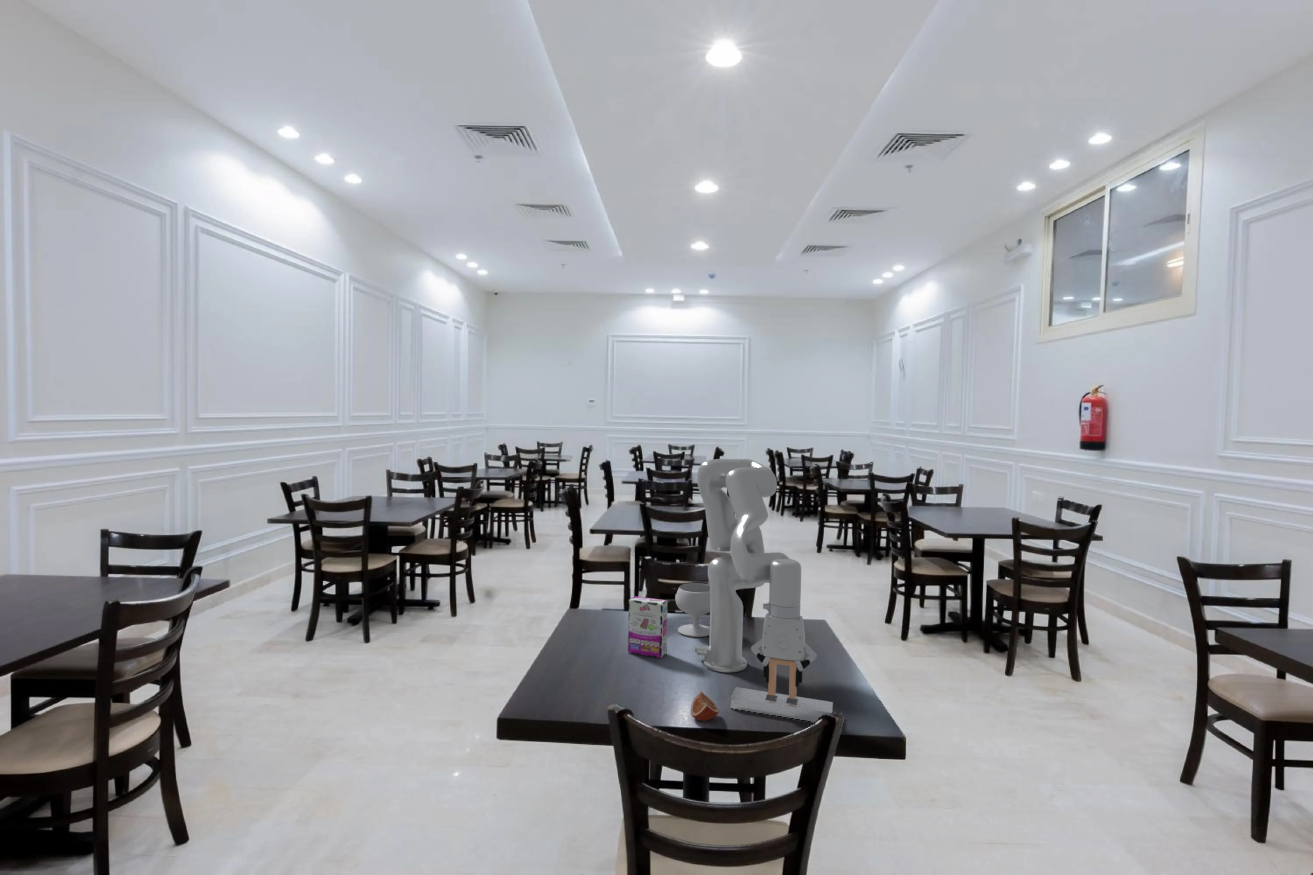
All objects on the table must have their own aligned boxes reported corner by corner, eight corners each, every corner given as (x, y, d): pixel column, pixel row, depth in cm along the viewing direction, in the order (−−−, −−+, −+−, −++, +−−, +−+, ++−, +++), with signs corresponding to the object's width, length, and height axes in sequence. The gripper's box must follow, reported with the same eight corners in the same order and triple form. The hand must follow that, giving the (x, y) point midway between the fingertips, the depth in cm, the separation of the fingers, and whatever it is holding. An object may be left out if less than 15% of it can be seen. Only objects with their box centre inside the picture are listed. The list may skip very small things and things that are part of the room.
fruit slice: (688, 710, 153) (688, 690, 153) (715, 709, 153) (715, 689, 153) (693, 727, 145) (693, 706, 144) (721, 726, 145) (722, 705, 145)
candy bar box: (667, 653, 190) (668, 599, 189) (661, 659, 185) (662, 604, 184) (633, 647, 194) (635, 595, 193) (627, 653, 189) (628, 599, 189)
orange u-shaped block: (768, 694, 153) (769, 658, 153) (769, 690, 155) (770, 654, 155) (795, 698, 151) (796, 661, 151) (796, 694, 153) (797, 658, 153)
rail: (730, 708, 154) (731, 696, 154) (735, 698, 160) (735, 686, 160) (831, 725, 147) (831, 712, 147) (832, 714, 152) (832, 701, 152)
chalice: (672, 625, 216) (673, 582, 215) (711, 624, 217) (713, 581, 217) (678, 639, 202) (679, 593, 201) (720, 638, 203) (721, 593, 203)
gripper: (746, 610, 152) (744, 683, 152) (820, 619, 146) (818, 694, 147) (751, 602, 159) (749, 672, 159) (821, 610, 153) (819, 682, 154)
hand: (782, 682), depth 153 cm, fingers closed on orange u-shaped block, 6 cm apart
